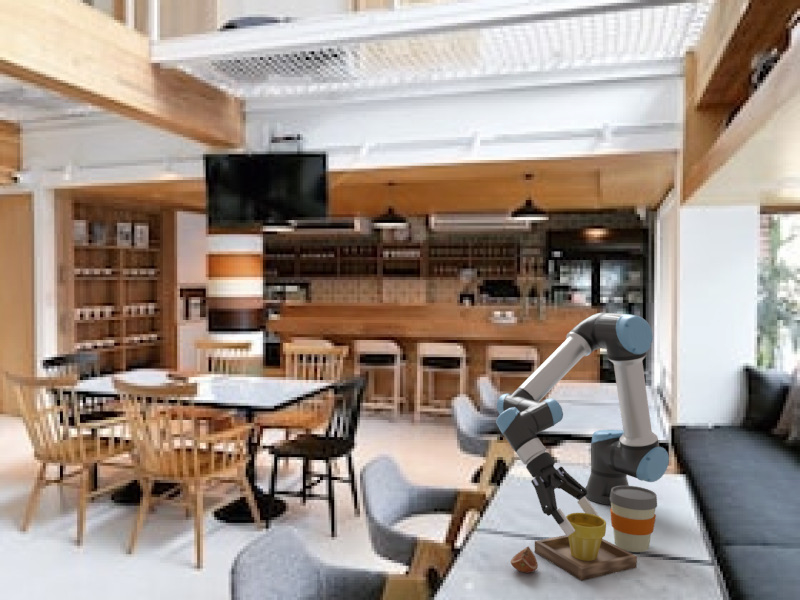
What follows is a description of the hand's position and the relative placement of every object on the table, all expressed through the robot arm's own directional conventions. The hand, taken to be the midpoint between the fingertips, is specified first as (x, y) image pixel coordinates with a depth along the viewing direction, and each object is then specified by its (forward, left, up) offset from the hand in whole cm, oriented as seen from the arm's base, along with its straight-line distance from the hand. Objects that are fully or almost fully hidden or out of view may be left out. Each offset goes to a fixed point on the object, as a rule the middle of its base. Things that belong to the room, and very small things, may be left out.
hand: (584, 526), depth 173 cm
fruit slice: (+19, -1, -9) cm, 21 cm away
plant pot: (0, 0, -8) cm, 8 cm away
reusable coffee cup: (-19, -2, -9) cm, 21 cm away
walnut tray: (0, 0, -9) cm, 9 cm away
